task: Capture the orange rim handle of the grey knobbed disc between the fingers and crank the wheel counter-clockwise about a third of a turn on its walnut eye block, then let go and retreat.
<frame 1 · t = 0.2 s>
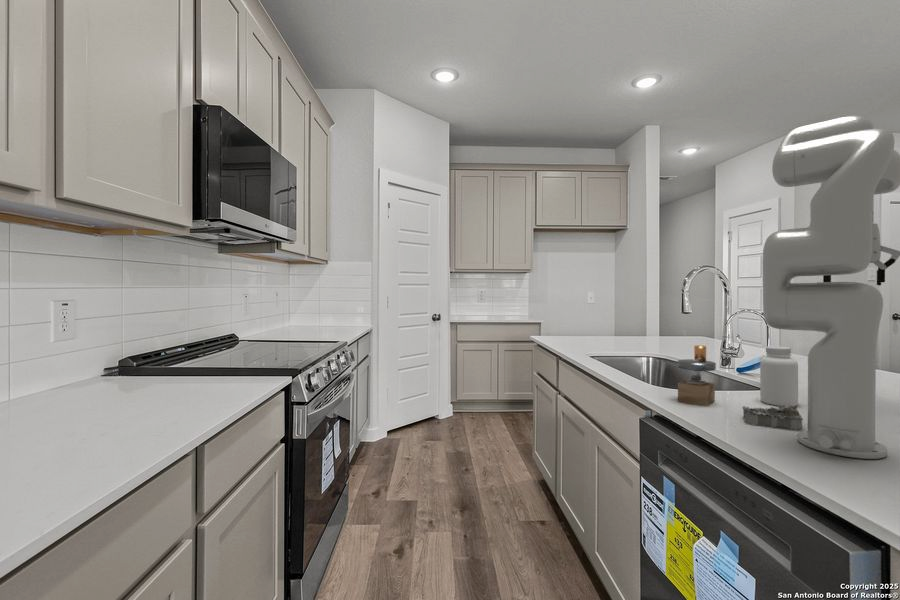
hand: (853, 285, 111), 31 cm above the countertop, tool pointing down, fingers open, 9 cm apart
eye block: (696, 401, 115), on the countertop
pill bottle: (778, 403, 112), on the countertop
egg carton: (771, 425, 96), on the countertop
grey knobbed disc: (696, 363, 115), point 10 cm above the countertop, hinge at 0.0°
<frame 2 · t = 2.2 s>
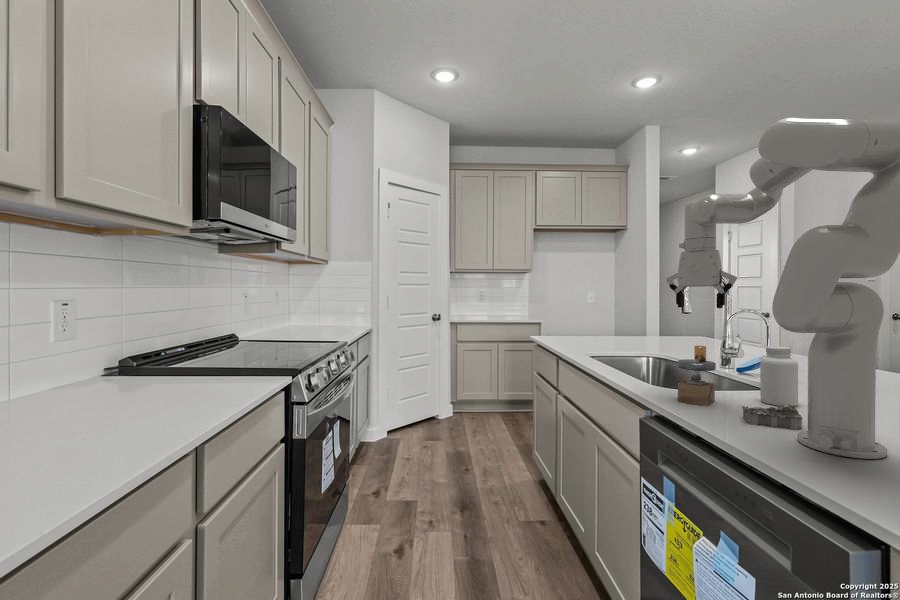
hand: (699, 307, 117), 26 cm above the countertop, tool pointing down, fingers open, 9 cm apart
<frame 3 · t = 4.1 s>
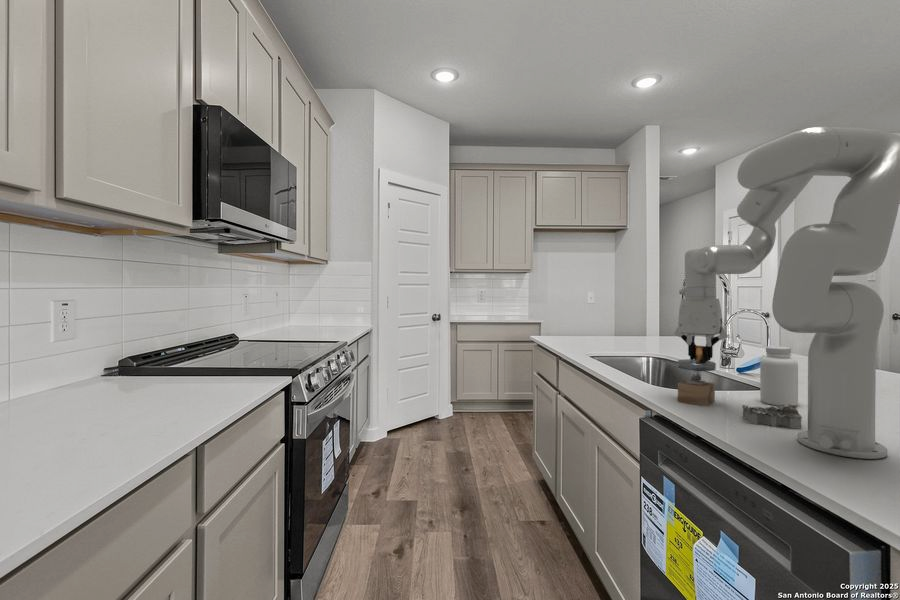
hand: (700, 359, 117), 11 cm above the countertop, tool pointing down, fingers closed on grey knobbed disc, 2 cm apart
grey knobbed disc: (696, 363, 115), point 10 cm above the countertop, hinge at 0.0°, touching gripper
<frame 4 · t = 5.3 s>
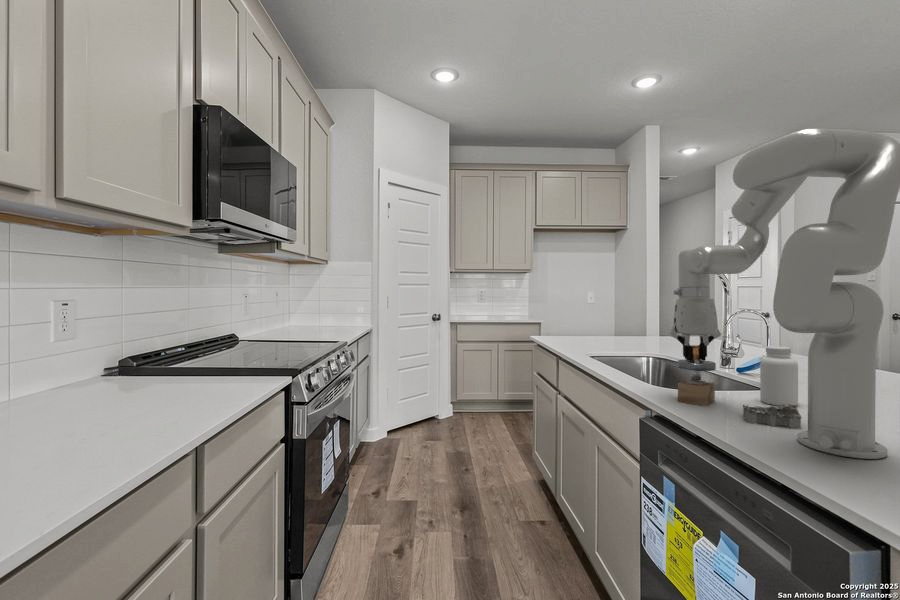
hand: (694, 358, 118), 11 cm above the countertop, tool pointing down, fingers open, 3 cm apart
grey knobbed disc: (696, 363, 115), point 10 cm above the countertop, hinge at 22.3°, touching gripper
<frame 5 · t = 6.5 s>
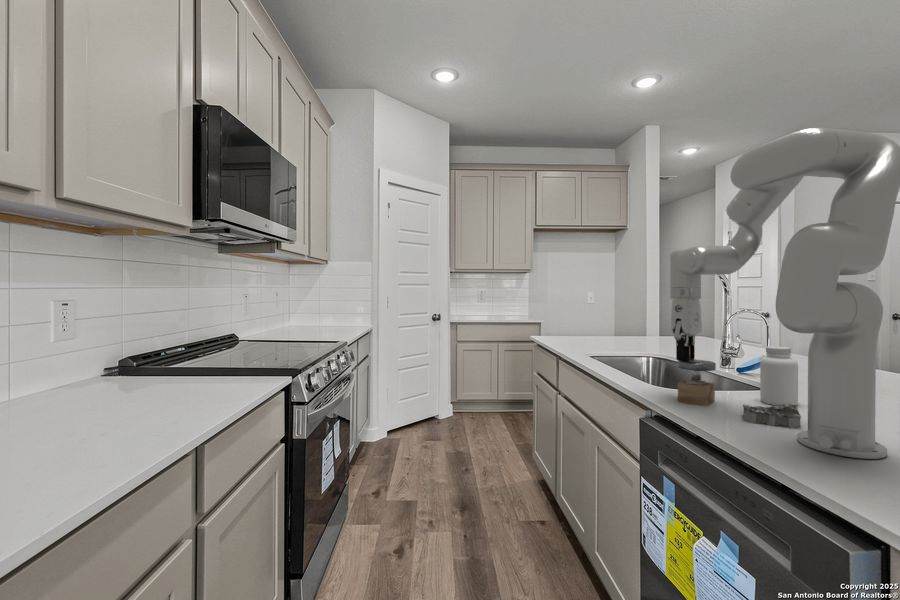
hand: (685, 359, 118), 11 cm above the countertop, tool pointing down, fingers open, 3 cm apart
grey knobbed disc: (694, 363, 115), point 10 cm above the countertop, hinge at 70.7°, touching gripper
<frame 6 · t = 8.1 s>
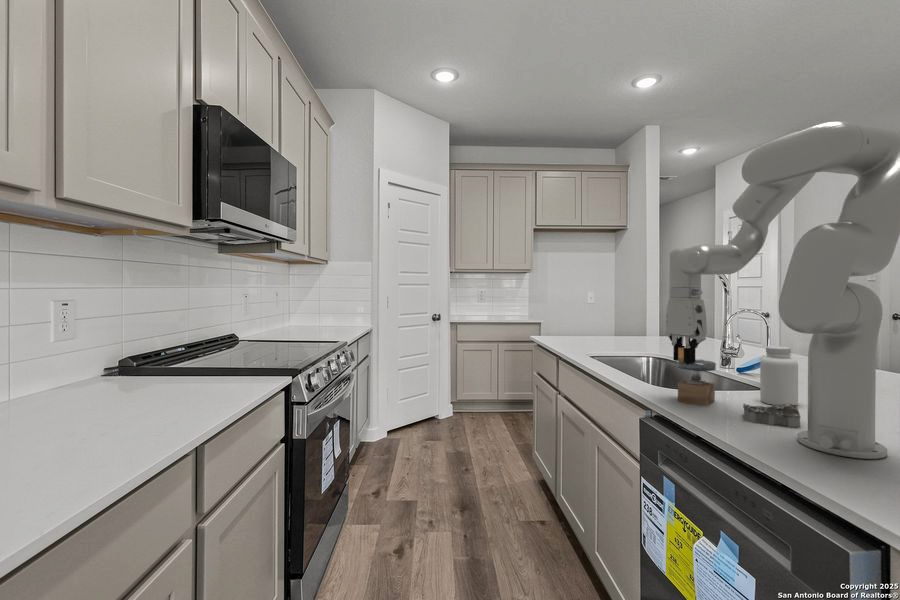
hand: (684, 360, 115), 11 cm above the countertop, tool pointing down, fingers closed on grey knobbed disc, 3 cm apart
grey knobbed disc: (694, 363, 115), point 10 cm above the countertop, hinge at 138.9°, touching gripper
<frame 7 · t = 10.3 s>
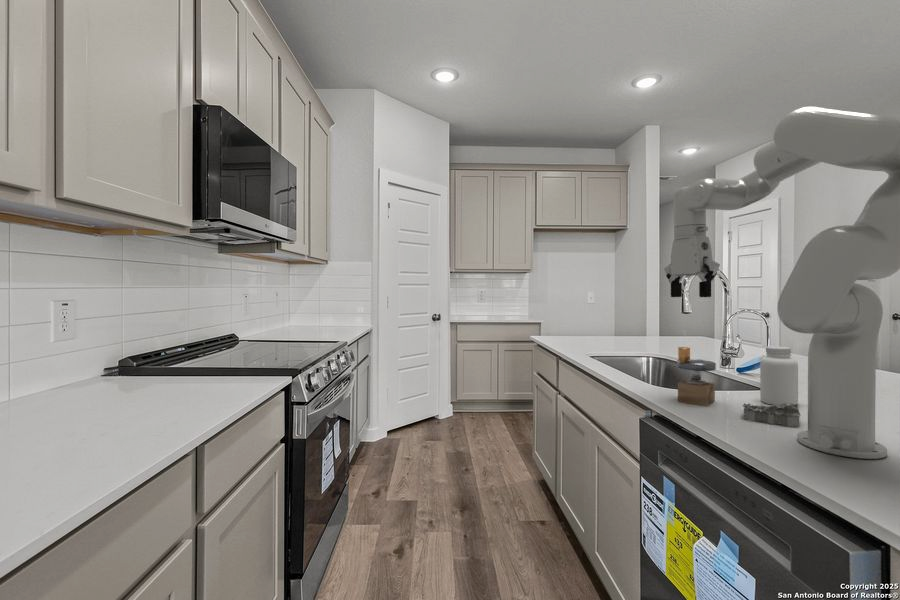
hand: (690, 297, 114), 29 cm above the countertop, tool pointing down, fingers open, 9 cm apart
grey knobbed disc: (694, 363, 115), point 10 cm above the countertop, hinge at 142.2°
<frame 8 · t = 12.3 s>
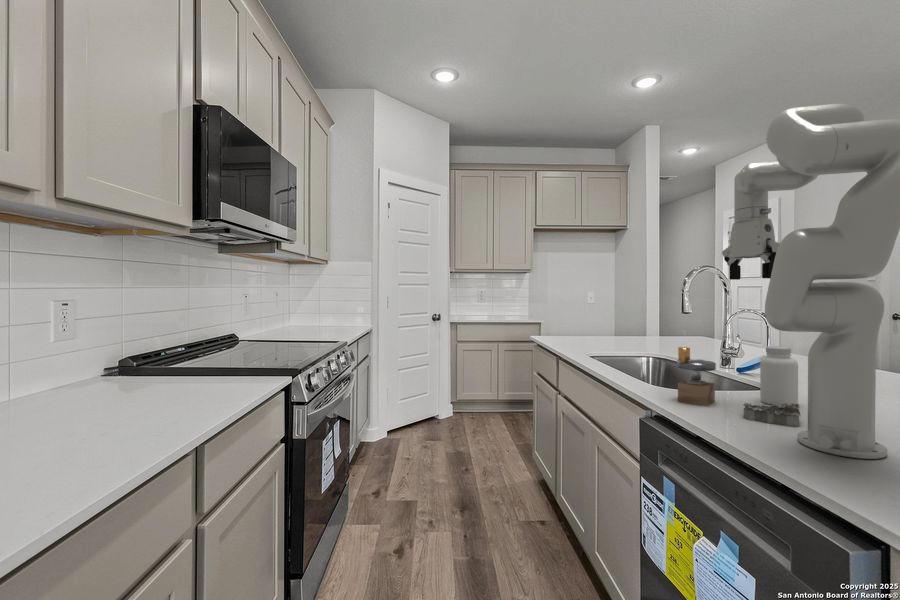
hand: (750, 278, 115), 33 cm above the countertop, tool pointing down, fingers open, 9 cm apart
at the end: grey knobbed disc at +142° (first picture: +0°) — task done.
